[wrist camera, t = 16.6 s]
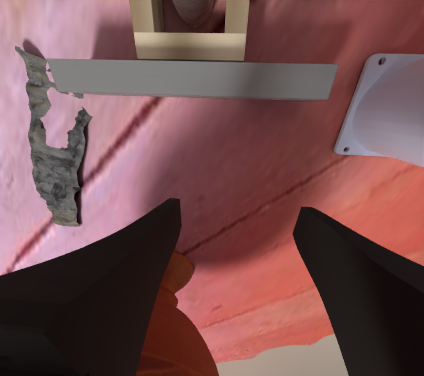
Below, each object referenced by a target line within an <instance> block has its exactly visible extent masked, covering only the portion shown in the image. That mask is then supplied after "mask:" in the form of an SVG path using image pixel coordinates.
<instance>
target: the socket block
mask: <svg viewBox="0 0 424 376" xmlns="http://www.w3.org/2000/svg"><path fill="white" fill-rule="evenodd" d="M249 1H250V0H226V16H225V33H165V29H164V15H163V2H162V0H129V3H130V10H131V17H132V24H133V31H134V38H135V45H136V52H137V59H139V60H146V61H198V62H243V61H244V54H245V43H246V33H247V22H248V11H249Z"/></svg>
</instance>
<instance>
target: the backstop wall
mask: <svg viewBox="0 0 424 376" xmlns="http://www.w3.org/2000/svg"><path fill="white" fill-rule="evenodd" d="M47 61H48V64H49V67H50V70H51V73H52V76H53V79H54V82H55V85H56V88H57V90H58V91H61V92H72V93H83V94H94V95H124V96H156V97H188V98H221V99H253V100H285V101H312V100H327V99H328V98H329V95H330V91H331V88H332V85H333V82H334V78H335V75H336V72H337V69H338V66H339V64H301V63H249V62H198V61H146V60H95V59H47Z"/></svg>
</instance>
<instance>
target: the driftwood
mask: <svg viewBox="0 0 424 376" xmlns="http://www.w3.org/2000/svg"><path fill="white" fill-rule="evenodd" d="M15 50H16V51H17V52H18V53H19V55H21V56H22V58H23V59H24V62H25V64H26V70H27V76H28V78H29V80H28V82H27V83H26V91H27V94H28V97H29V107H30V110H31V116H32V117H31V123H30V130H29V132H28V138H29V142H30V146H31V159H32V163H33V166H34V167H33V170H32V171H33V172H32V174H33V179H34V182H35V185H36V190H37V191H38V192H39V193H40V195H41V196H40V197H42V198H43V199H45V200H46V201H47V203H46V204H47V206H48V207H49V208H48V207H47V208H48V209H49V210H50V211H51V212H52V215H53V217H52V218H51V219H52V221H53V222H54V223H56V224H58V225H62V226H73V227H74V226H75V227H77V226H80V224H78V223H77V222H76V221H77V217H76V214H77V207H76V203H75V201H74V194H75V192H77V191H80V190H81V188H80V187H79V186H78V181H77V170H78V168H79V165H80V162H81V160H82V159H81V158H82V156H83V153H84V146H85V137H84V134H83V129H84V126H85V125H87V122H89V121H90V120H91V118H92V116H90V115H88V113H87V112H86V110H85V109H84V108H83V107H82V108H83V110H81V111H79V112H78V116H77V117H75V120H76V125H75V126H74V128H73V130H71V131H69V132H67V133H68V142H69V143H68V145H67V146H68V149H67V148H60V149H58V148H53V147H50V146H47V145H46V143H45V142H46V135H45V133H46V132H45V131H46V130H45V128H44V127H43V126H42V125H43V123H42V121H41V120H40V118H41V117H43V116H45V115H46V113H47V112H48V110H49V109H50V107H51V104H50V101H49V99H48V97H47V90H48V89H49V88H50V87H53V88H55V89H56V90H57V88H56V85H55V83H53V82H50V81H49V78H48V76H47V74H46V72H45V71H46V67H45V66H46V63H47V60H45V59H43V58H41V57H38V56H35V55H33V54H29V53H27V52H25V51H23V50H21V49H20V47H16V46H15ZM47 71H51V70H50V68H49V69H48V70H47ZM34 83H36V84H37V85H35V84H34ZM57 91H58V90H57ZM58 92H60V93H64V94H69V93H68V92H61V91H58ZM73 94H74V97H77V98H83V93H73ZM72 96H73V95H72Z"/></svg>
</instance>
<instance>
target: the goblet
mask: <svg viewBox="0 0 424 376" xmlns="http://www.w3.org/2000/svg"><path fill="white" fill-rule="evenodd" d="M192 275H193V267H192V265H191V263H190V262H189V260H188V259H187V258H186V257H185V256H184V255H182V254H180V253H178V252H175V251H173V253H172V256H171V258H170V261H169V263H168V266H167V268H166V271H165V273H164V276H163V278H162V281H161V284H160V288H159V291H158V294H157V298H156V301H155V304H154V308H153V311H152V315H151V319H150V322H149V326H148V329H147V333H146V337H145V341H144V345H143V348H142V352H141V356H140V360H139V364H138V368H137V372H136V376H219V374H218V370H217V367H216V364H215V362H214V360H213V358H212V355H211V353H210V351H209V349H208V347H207V345H206V343H205V341H204V339H203V338H202V336H201V334H200V333H199V331H198V330H197V328H196V327H195V325H194V324H193V323H192V321H191V320H190V319H189V318H188V317H187V316H186V315H185V314H184V313H183V312H182V311H180V310H179V309H178V308H176V307H177V304H178V299H177V298H176V296H175V295H174V294H175V293H176V292H177V291H179V290H180V289H182V288H183V287H184V286H185V285H186V284H187V283H188V282H189V281H190V279H191V277H192Z"/></svg>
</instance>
